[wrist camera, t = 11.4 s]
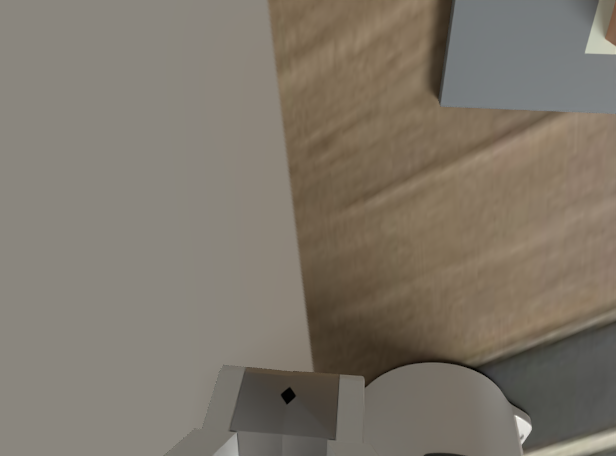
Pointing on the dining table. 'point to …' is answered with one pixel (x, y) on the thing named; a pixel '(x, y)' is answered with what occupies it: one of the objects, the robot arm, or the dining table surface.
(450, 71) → the board
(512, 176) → the dining table surface
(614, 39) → the t block
